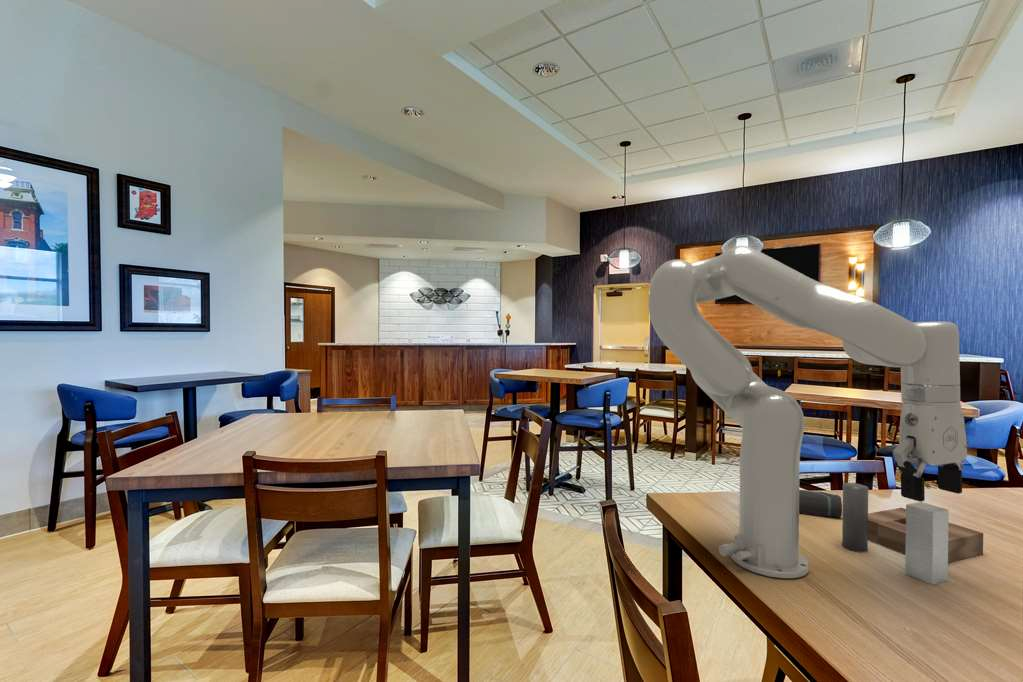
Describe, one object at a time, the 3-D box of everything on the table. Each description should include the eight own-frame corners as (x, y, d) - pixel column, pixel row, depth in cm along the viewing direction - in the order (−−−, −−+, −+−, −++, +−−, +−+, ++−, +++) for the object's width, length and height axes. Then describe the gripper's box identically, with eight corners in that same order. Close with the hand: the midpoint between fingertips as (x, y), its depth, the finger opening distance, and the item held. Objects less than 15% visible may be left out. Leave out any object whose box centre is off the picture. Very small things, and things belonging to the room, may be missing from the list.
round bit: (858, 553, 90) (858, 490, 90) (837, 544, 94) (838, 484, 94) (872, 550, 91) (873, 488, 91) (851, 541, 95) (852, 481, 95)
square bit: (932, 585, 79) (933, 512, 78) (905, 573, 82) (906, 504, 82) (947, 580, 80) (948, 509, 80) (920, 569, 84) (921, 501, 84)
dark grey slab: (850, 539, 97) (741, 522, 106) (836, 510, 113) (743, 497, 123) (850, 513, 97) (741, 498, 106) (836, 487, 113) (743, 476, 123)
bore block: (935, 566, 85) (935, 543, 85) (855, 534, 98) (855, 515, 98) (983, 554, 90) (983, 533, 90) (901, 525, 103) (901, 507, 103)
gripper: (921, 400, 74) (923, 509, 74) (989, 393, 80) (990, 495, 80) (871, 395, 81) (873, 495, 82) (936, 389, 87) (938, 482, 87)
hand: (931, 495), depth 81 cm, fingers open, 9 cm apart
